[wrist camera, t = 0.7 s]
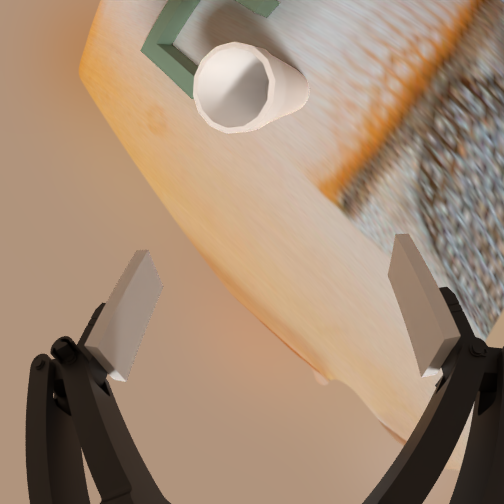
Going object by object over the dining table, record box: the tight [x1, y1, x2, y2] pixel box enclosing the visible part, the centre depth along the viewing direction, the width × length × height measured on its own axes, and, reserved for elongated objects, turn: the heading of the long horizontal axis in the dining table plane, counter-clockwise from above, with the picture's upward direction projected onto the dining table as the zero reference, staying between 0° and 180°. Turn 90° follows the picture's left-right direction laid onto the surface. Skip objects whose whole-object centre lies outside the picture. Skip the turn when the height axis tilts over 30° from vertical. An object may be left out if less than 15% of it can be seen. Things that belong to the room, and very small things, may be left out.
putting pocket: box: [141, 0, 279, 99], centre depth 26 cm, size 16×22×18 cm
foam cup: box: [193, 42, 310, 134], centre depth 29 cm, size 10×9×13 cm
